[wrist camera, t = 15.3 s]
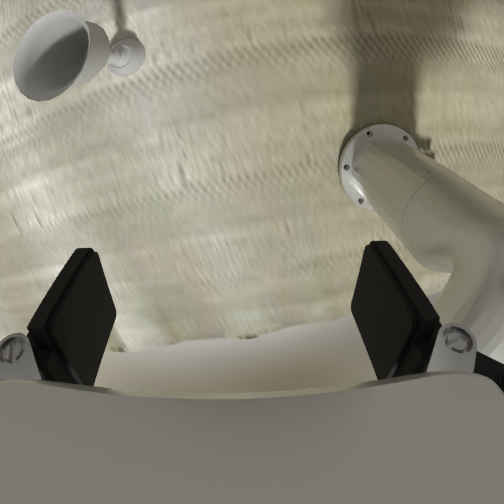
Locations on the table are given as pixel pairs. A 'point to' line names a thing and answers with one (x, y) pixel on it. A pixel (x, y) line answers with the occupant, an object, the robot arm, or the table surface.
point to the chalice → (69, 55)
